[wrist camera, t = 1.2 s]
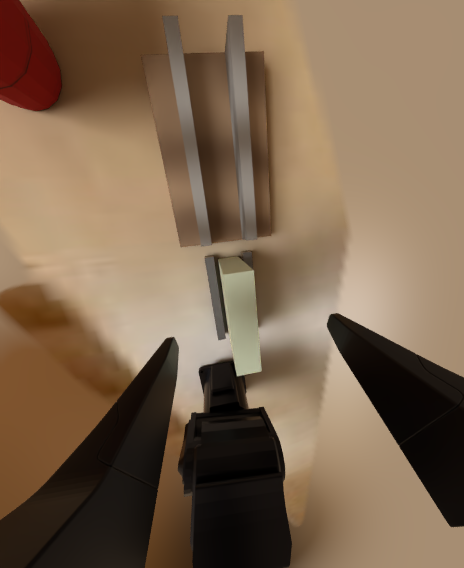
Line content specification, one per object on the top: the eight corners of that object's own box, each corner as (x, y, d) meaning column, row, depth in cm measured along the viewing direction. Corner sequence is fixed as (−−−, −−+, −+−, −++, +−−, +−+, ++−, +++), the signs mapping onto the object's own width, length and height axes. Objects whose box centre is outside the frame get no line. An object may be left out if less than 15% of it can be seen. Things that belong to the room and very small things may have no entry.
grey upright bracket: (255, 328, 24) (257, 333, 23) (217, 334, 23) (218, 340, 22) (249, 250, 20) (251, 251, 19) (204, 256, 20) (204, 257, 19)
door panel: (244, 326, 24) (261, 371, 16) (228, 329, 23) (236, 376, 16) (237, 256, 21) (253, 270, 13) (218, 258, 20) (223, 274, 13)
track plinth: (266, 235, 20) (280, 236, 16) (182, 246, 19) (176, 249, 15) (258, 67, 15) (274, 14, 12) (147, 72, 15) (126, 16, 11)
